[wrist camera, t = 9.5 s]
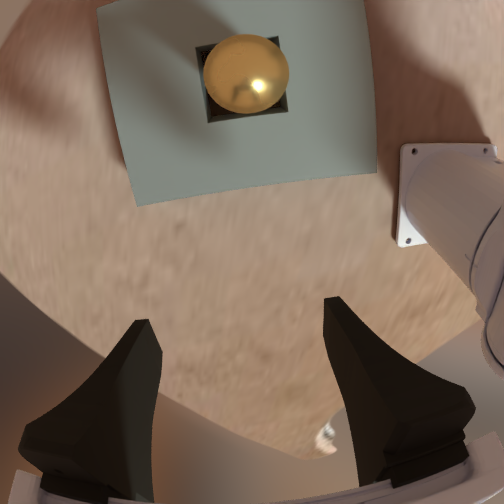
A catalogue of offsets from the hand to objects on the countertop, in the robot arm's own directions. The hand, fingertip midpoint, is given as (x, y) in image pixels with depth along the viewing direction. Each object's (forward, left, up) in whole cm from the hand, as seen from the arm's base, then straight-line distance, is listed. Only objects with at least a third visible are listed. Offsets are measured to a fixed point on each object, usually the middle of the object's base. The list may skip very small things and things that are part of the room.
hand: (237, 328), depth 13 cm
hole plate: (-2, -9, -10) cm, 14 cm away
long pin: (-2, -9, -10) cm, 14 cm away
